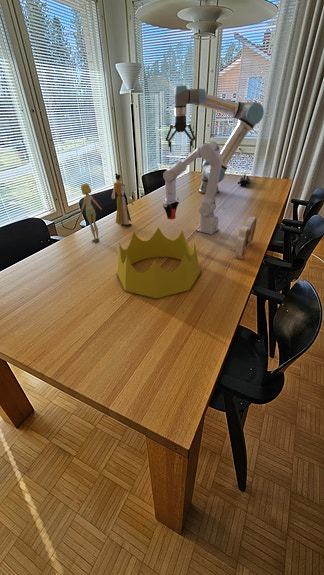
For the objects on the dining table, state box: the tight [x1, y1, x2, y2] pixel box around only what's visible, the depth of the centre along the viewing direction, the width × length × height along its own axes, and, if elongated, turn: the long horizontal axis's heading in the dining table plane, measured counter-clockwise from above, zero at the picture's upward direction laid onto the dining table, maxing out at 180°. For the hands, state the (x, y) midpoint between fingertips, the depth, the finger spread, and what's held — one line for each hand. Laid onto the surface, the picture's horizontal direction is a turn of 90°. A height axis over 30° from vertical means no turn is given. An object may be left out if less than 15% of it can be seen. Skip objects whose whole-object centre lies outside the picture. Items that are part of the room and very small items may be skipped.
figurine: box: [110, 173, 134, 228], centre depth 153 cm, size 19×9×30 cm, turn 47°
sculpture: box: [79, 183, 103, 243], centre depth 136 cm, size 13×5×30 cm, turn 134°
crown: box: [116, 226, 201, 299], centre depth 110 cm, size 36×36×15 cm
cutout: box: [235, 216, 258, 260], centre depth 125 cm, size 15×3×25 cm
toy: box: [237, 173, 251, 188], centre depth 230 cm, size 10×5×30 cm
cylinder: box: [166, 208, 176, 220], centre depth 157 cm, size 5×5×5 cm
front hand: (171, 215), depth 157 cm, fingers closed on cylinder, 5 cm apart
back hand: (180, 151), depth 183 cm, fingers open, 13 cm apart
